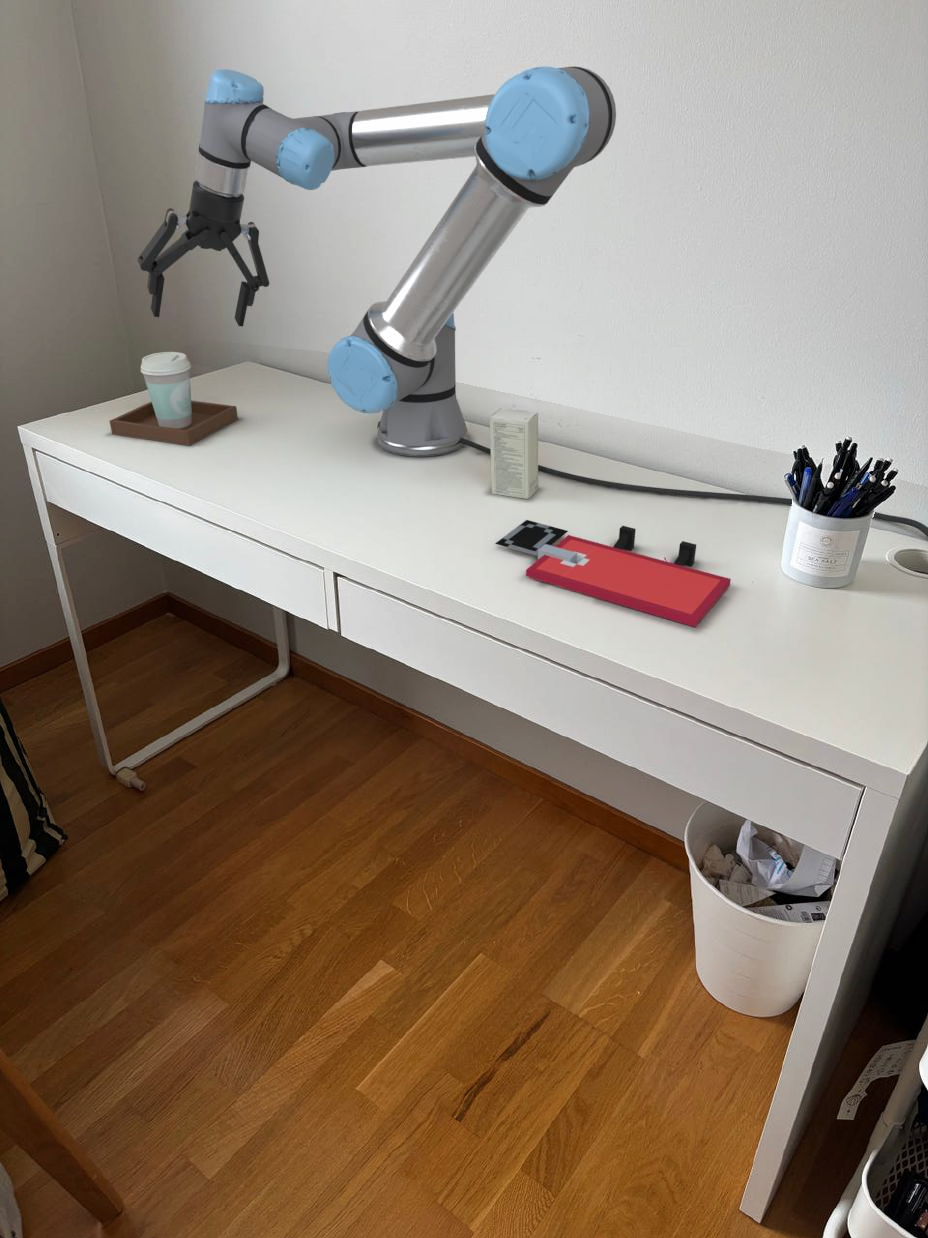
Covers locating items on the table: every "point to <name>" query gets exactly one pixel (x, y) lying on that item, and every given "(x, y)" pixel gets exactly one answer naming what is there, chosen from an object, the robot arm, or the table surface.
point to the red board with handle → (620, 572)
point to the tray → (146, 427)
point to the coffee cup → (169, 388)
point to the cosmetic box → (514, 452)
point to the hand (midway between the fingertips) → (197, 317)
